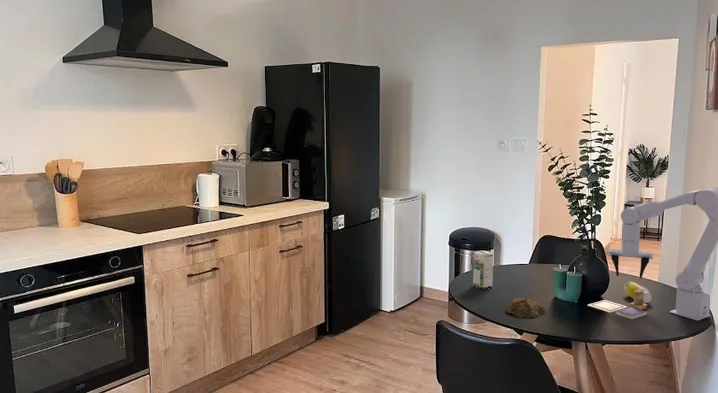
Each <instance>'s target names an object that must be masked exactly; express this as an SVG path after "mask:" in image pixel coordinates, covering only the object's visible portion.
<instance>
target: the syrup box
mask: <svg viewBox="0 0 718 393" xmlns="http://www.w3.org/2000/svg"><path fill="white" fill-rule="evenodd" d="M472 274H473V278H472V279H473V280H472V281H473V283H472V285H473V284H475V285H477V286H479V287H488V286H492V287H493V280H494V279H493V276H494V253H493V252H489V251H486V250H477V251H474V252H473V273H472Z"/></svg>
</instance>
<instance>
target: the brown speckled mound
mask: <svg viewBox="0 0 718 393" xmlns="http://www.w3.org/2000/svg"><path fill="white" fill-rule="evenodd" d="M506 310H507V312H509V313H512V314H511V315H514V314H515V315H517V316H521V317H528V316H529V317H528V318H530V317H534V318H537V317H536V316H538V317H539V316H541V315H545V313H546V310H545V308H544V306H543V305H542V304H540V303H538V302H536V301H534V300H532V299H529V298H523V297H518V298H517V297H516V298H514V299H513V300H511V301H510V302H509V304H507V306H506V308H505V311H506ZM507 312H506V313H507ZM509 313H508V314H509ZM540 314H541V315H540ZM515 315H514V316H515Z"/></svg>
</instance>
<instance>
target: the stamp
mask: <svg viewBox="0 0 718 393" xmlns="http://www.w3.org/2000/svg"><path fill="white" fill-rule="evenodd" d="M643 300H644V292H643V291H639V290H636V291H634V299H633V302H630V303H629V308H630V307H632V308H635V309H638V310H641V311H645V310H647V309H648V304H647V303H644V302H643Z"/></svg>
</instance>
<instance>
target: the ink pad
mask: <svg viewBox="0 0 718 393" xmlns="http://www.w3.org/2000/svg"><path fill="white" fill-rule="evenodd" d="M615 315H618V316H620V317H623V318H626V319H630V320H635V319H638V318H642V317H644V316H647V312H646V311H645V310H642V311H641V310H638V309H635V308H632V307H630V306H629V307H627V308H624V309H621V310H618V311H615Z"/></svg>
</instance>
